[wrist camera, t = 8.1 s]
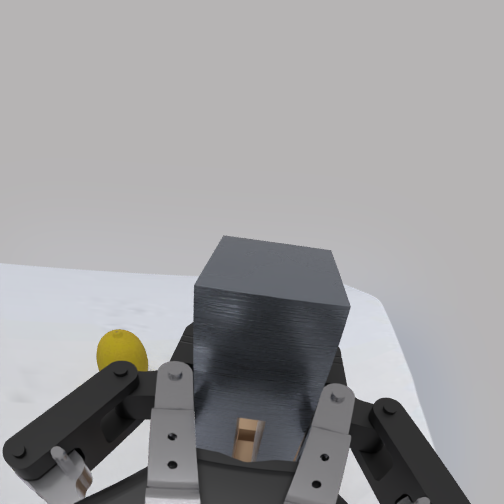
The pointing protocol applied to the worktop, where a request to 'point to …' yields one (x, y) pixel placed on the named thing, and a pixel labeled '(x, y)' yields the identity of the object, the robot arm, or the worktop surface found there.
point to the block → (264, 343)
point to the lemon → (121, 350)
